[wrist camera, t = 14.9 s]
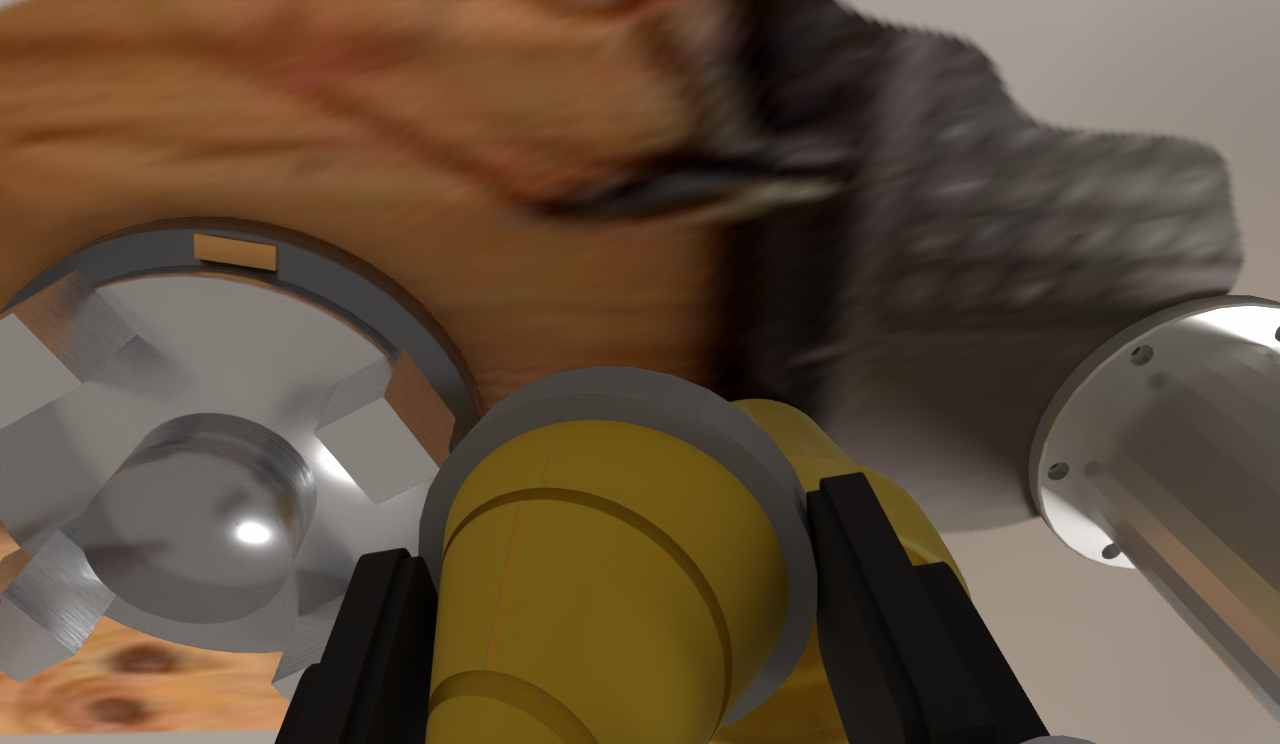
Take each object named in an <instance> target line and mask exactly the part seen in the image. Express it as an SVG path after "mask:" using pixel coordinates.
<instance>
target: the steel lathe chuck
mask: <svg viewBox="0 0 1280 744" xmlns="http://www.w3.org/2000/svg"><path fill="white" fill-rule="evenodd" d="M454 422H455V417H454V416H453V414H452V413H451V411H450V410H449V409H448V407H447V406H446V405H445V403H444V402H443V401H442V399H441V398H440V397H439V395H438V394H437V393H436V391H435V390H434V389H433V387H432V386H431V385H430V383H429V382H428V381H427V379H426V378H425V377H424V375H423V374H422V373H421V371H420V370H419V368H418V367H417V366H416V364H415V363H414V362H413V360H412V359H411V358H410V356H409V355H408V354H407V352H406V351H405V350H404V348H401V349H399V350H398V349H397V348H396V347H395V346H393V345H392V344H391V343H390V342H389V341H388V340H387V339H386V338H385V337H384V336H383V335H382V334H380V333H379V332H378V331H377V330H375V329H374V328H373V327H371V326H370V325H369V324H367V323H366V322H364V321H363V320H362V319H360V318H359V317H358V316H356V315H355V314H353V313H352V312H350V311H348V310H346V309H345V308H343V307H341V306H339V305H338V304H336V303H334V302H332V301H331V300H329V299H327V298H325V297H323V296H321V295H318V294H316V293H314V292H312V291H309V290H307V289H305V288H302V287H300V286H298V285H295V284H293V283H289V282H286V281H283V280H280V279H276V278H273V277H270V276H267V275H263V274H259V273H254V272H249V271H243V270H238V269H233V268H226V267H213V266H200V265H186V266H163V267H156V268H150V269H144V270H138V271H133V272H128V273H125V274H122V275H119V276H115V277H112V278H109V279H106V280H103V281H100V282H98V283H96V284H94V285H91V284H90V283H89V282H88V281H87V280H86V279H85V278H84V277H83V276H82V274H81V273H80V272H79V271H78V270H75V271H74V272H72V273H70V274H69V275H67V276H65V277H63V278H62V279H60V280H58V281H57V282H55V283H53V284H51V285H50V286H48V287H46V288H45V289H43V290H41V291H39V292H38V293H36V294H34V295H33V296H31V297H29V298H27V299H26V300H24V301H22V302H21V303H19V304H17V305H15V306H14V307H12V308H10V309H9V310H7V311H5V312H3V313H2V314H0V520H1V521H2V523H3V524H4V526H5V527H6V529H7V530H8V532H9V534H10V535H11V537H12V538H13V539H14V541H15V542H16V543H17V544H18V545H19V547H20V548H21V549H19V550H17V551H15V552H13V553H11V554H9V555H7V556H6V557H4V558H3V559H2V560H1V561H0V669H1V670H2V671H3V672H5V673H6V674H7V675H9V676H10V677H11V678H13V679H14V680H15V681H16V682H18V683H19V682H21V681H23V680H25V679H27V678H29V677H31V676H33V675H35V674H37V673H39V672H41V671H43V670H45V669H47V668H49V667H51V666H53V665H55V664H57V663H60V662H62V661H64V660H66V659H68V658H70V657H72V656H74V655H76V653H77V652H78V650H79V649H80V647H81V646H82V644H83V643H84V642H85V640H86V639H87V637H88V636H89V634H90V633H91V631H92V630H93V628H94V627H95V625H96V624H97V623H98V621H99V620H100V618H101V617H102V615H105V616H107V617H109V618H111V619H113V620H115V621H117V622H119V623H121V624H123V625H125V626H128V627H130V628H133V629H135V630H138V631H140V632H143V633H146V634H148V635H151V636H154V637H157V638H161V639H164V640H167V641H171V642H174V643H178V644H182V645H187V646H192V647H197V648H202V649H207V650H216V651H225V652H234V653H270V652H284V653H283V655H282V658H281V660H280V663H279V665H278V668H277V670H276V673H275V675H274V678H273V680H272V683H271V685H272V686H274V687H275V688H276V689H277V690H278V691H279V692H280V693H281V694H282V695H283V696H284V697H285V698H287V699H288V700H289V701H290V702H291V700H292V698H293V695H294V693H295V690H296V687H297V685H298V682H299V680H300V678H301V676H302V674H303V673H304V671H305V669H306V668H308V667H309V666H310V665H311V664H315V663H320V660H321V658H322V655H323V652H324V650H325V647H326V644H327V642H328V639H329V636H330V634H331V631H332V628H333V626H334V623H335V620H336V618H337V615H338V612H339V610H340V607H341V604H342V602H343V599H344V596H345V594H346V591H347V588H348V586H349V583H350V580H351V578H352V575H353V572H354V570H355V567H356V564H357V562H358V560H359V558H360V556H362V555H363V554H367V553H373V552H379V551H385V550H391V549H397V548H406V549H407V550H408V551H409V552H410V555H411V557H416V556H418V545H419V523H420V518H421V514H422V511H423V507H424V503H425V500H426V496H427V493H428V489H429V487H430V486H431V484H432V482H433V480H434V479H435V477H436V475H437V473H438V471H439V470H440V468H441V466H442V464H443V462H444V461H445V459H446V458H447V457H448V456H449V455H450V454H451V453H452V451H453V450H454V447H453V443H452V439H451V435H452V431H453V427H454Z"/></svg>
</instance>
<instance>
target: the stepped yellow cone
mask: <svg viewBox="0 0 1280 744" xmlns="http://www.w3.org/2000/svg"><path fill="white" fill-rule="evenodd" d="M418 556H422V557H423V558H424V560H425V562H426V564H427V567H428V570H429V572H430V575H431V578H432V581H433V584H434V586H435V589H436V592H437V595H438V598H439V599H438V610H437V620H436V631H435V642H434V653H433V664H432V675H431V686H430V697H429V708H428V714H429V718H428V722H427V729H426V740H425V744H708V743H709V742H710V740H711V739H712V737H713V736H714V735H715V733H716V732H717V730H718V729H719V728H721V727H723V726H725V725H727V724H730V723H732V722H734V721H736V720H739V719H741V718H743V717H744V716H745V715H747V714H748V713H750V712H751V711H752V710H754V709H755V708H757V707H758V706H759V705H761V704H762V703H764V702H765V701H766V700H768V699H769V698H770V697H771V696H772V695H773V694H774V693H775V692H776V691H777V689H778V688H779V687H780V686H781V685H782V684H783V683H784V682H785V681H786V679H787V678H788V677H789V676H790V675H791V674H792V672H793V671H794V669H795V667H796V665H797V663H798V661H799V660H800V658H801V656H802V654H803V652H804V650H805V649H806V647H807V645H808V642H809V638H810V635H811V631H812V627H813V623H814V620H815V616H816V612H817V578H818V574H817V562H816V556H815V550H814V545H813V539H812V533H811V528H810V522H809V518H808V514H807V503H806V494H805V491H804V489H803V487H802V485H801V482H800V480H799V478H798V476H797V474H796V471H795V469H794V467H793V466H792V465H791V463H790V462H789V461H788V459H787V458H786V457H785V455H784V454H783V452H782V451H781V450H780V448H779V447H778V446H777V444H776V443H775V441H774V440H773V439H772V437H771V436H769V435H768V434H767V433H766V432H765V431H764V430H763V429H762V428H761V427H760V426H759V425H758V424H757V423H755V422H754V421H753V420H752V419H751V418H750V417H749V416H748V415H747V414H746V413H745V412H744V411H742V410H741V409H739V408H738V407H736V406H734V405H733V404H731V403H730V402H728V401H726V400H725V399H723V398H722V397H720V396H718V395H717V394H715V393H714V392H712V391H710V390H709V389H707V388H704V387H702V386H699V385H697V384H694V383H691V382H689V381H686V380H684V379H681V378H679V377H676V376H674V375H671V374H667V373H662V372H657V371H652V370H647V369H642V368H637V367H631V366H590V367H585V368H579V369H574V370H568V371H563V372H558V373H554V374H551V375H549V376H546V377H544V378H542V379H539V380H537V381H534V382H532V383H529V384H527V385H524V386H522V387H520V388H519V389H518V390H516V391H515V392H513V393H512V394H510V395H509V396H507V397H506V398H504V399H503V400H502V401H500V402H499V403H497V404H496V405H494V406H493V407H492V408H491V409H490V410H489V412H488V413H487V414H486V415H485V416H484V417H483V418H482V419H481V420H480V421H479V422H478V424H477V425H476V426H475V427H474V428H473V429H472V430H471V431H470V432H469V433H468V435H467V436H466V437H465V438H464V439H463V440H462V441H461V442H460V444H459V445H458V446H457V447H456V448H455V449H454V450H453V451H452V453H451V454H450V455H449V456H448V457H447V458H446V459H445V461H444V462H443V464H442V466H441V468H440V470H439V471H438V473H437V475H436V477H435V479H434V480H433V482H432V484H431V486H430V487H429V489H428V493H427V496H426V500H425V503H424V507H423V511H422V514H421V518H420V523H419V545H418Z"/></svg>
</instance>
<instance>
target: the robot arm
mask: <svg viewBox="0 0 1280 744" xmlns="http://www.w3.org/2000/svg"><path fill="white" fill-rule="evenodd" d="M1028 473H1029V485H1030V492H1031V495H1032V498H1033V501H1034V503H1035V506H1036V509H1037V511H1038V513H1039V514H1040V516H1041V517H1042V518H1043V520H1044V521H1045V523H1046V524H1047V526H1048V527H1049V528H1050V529H1051V531H1052V532H1053V533H1054V534H1056V536H1057V537H1058V538H1059V539H1060V540H1061V541H1062V542H1063V544H1064V545H1065V546H1067V547H1068V548H1070V549H1071V550H1073V551H1075V552H1076V553H1078V554H1079V555H1081V556H1082V557H1084V558H1086V559H1089V560H1092V561H1094V562H1097V563H1100V564H1103V565H1108V566H1114V567H1121V568H1128V569H1135V568H1136V569H1137V570H1138V571H1139V572H1140V573H1141V574H1142V575H1143V576H1144V577H1145V578H1146V580H1147V581H1148V582H1149V583H1150V584H1151V585H1152V586H1153V587H1154V588H1155V589H1156V591H1157V592H1158V593H1159V594H1160V595H1161V596H1162V597H1163V598H1164V599H1165V601H1166V602H1167V603H1169V605H1170V606H1171V607H1172V608H1173V609H1174V610H1175V612H1176V613H1177V614H1178V615H1179V616H1180V617H1181V618H1182V619H1183V620H1184V621H1185V623H1186V624H1187V625H1188V626H1189V627H1190V628H1191V629H1192V630H1193V631H1194V633H1195V634H1196V635H1197V636H1198V637H1199V638H1200V639H1201V640H1202V641H1203V643H1204V644H1205V645H1206V646H1207V647H1208V648H1209V649H1210V650H1211V651H1212V652H1213V654H1214V655H1215V656H1216V657H1217V658H1218V659H1219V660H1220V661H1221V662H1222V663H1223V665H1224V666H1225V667H1226V668H1227V669H1228V670H1229V671H1230V672H1231V673H1232V675H1233V676H1234V677H1235V678H1236V679H1237V680H1238V681H1239V682H1240V683H1241V685H1242V686H1243V687H1244V688H1245V689H1246V690H1247V691H1248V692H1249V693H1250V694H1251V696H1252V697H1253V698H1254V699H1255V700H1256V701H1257V702H1258V703H1259V704H1260V705H1261V707H1262V708H1263V709H1264V710H1265V711H1266V712H1267V713H1268V714H1269V715H1270V716H1271V718H1272V719H1273V720H1274V721H1275V722H1276V723H1277V724H1278V725H1279V727H1280V303H1279V302H1277V301H1273V300H1268V299H1264V298H1260V297H1255V296H1250V295H1221V296H1215V297H1209V298H1203V299H1197V300H1191V301H1187V302H1184V303H1181V304H1178V305H1175V306H1172V307H1169V308H1167V309H1164V310H1161V311H1158V312H1156V313H1154V314H1152V315H1150V316H1148V317H1146V318H1144V319H1142V320H1140V321H1138V322H1136V323H1134V324H1132V325H1130V326H1128V327H1127V328H1125V329H1124V330H1122V331H1121V332H1119V333H1118V334H1116V335H1115V336H1114V337H1112V338H1111V339H1109V340H1108V341H1106V342H1105V343H1104V344H1102V345H1101V346H1099V347H1098V348H1097V349H1096V350H1095V351H1094V352H1093V353H1092V354H1091V355H1090V356H1088V357H1087V358H1086V359H1085V360H1084V361H1083V362H1082V363H1081V364H1080V365H1079V366H1078V367H1077V368H1076V369H1075V370H1074V371H1073V372H1072V373H1071V375H1070V376H1069V377H1068V378H1067V380H1066V381H1065V382H1064V383H1063V385H1062V386H1061V387H1060V388H1059V389H1058V391H1057V392H1056V393H1055V395H1054V397H1053V398H1052V400H1051V402H1050V404H1049V405H1048V407H1047V409H1046V411H1045V412H1044V414H1043V416H1042V417H1041V419H1040V422H1039V425H1038V428H1037V431H1036V433H1035V436H1034V439H1033V442H1032V445H1031V452H1030V459H1029V466H1028ZM806 503H807V514H808V518H809V522H810V528H811V533H812V539H813V545H814V550H815V556H816V562H817V574H818V578H817V612H816V622H817V634H818V643H819V649H820V654H821V658H822V662H823V666H824V669H825V672H826V675H827V678H828V681H829V684H830V687H831V690H832V693H833V696H834V700H835V703H836V706H837V709H838V712H839V715H840V718H841V721H842V724H843V727H844V730H845V733H846V736H847V739H848V742H849V744H1096V743H1093V742H1091V741H1088V740H1083V739H1078V738H1073V737H1068V736H1050V734H1049V733H1048V731H1047V729H1046V727H1045V726H1044V724H1043V723H1042V721H1041V719H1040V717H1039V715H1038V714H1037V712H1036V710H1035V709H1034V707H1033V705H1032V703H1031V702H1030V700H1029V698H1028V697H1027V695H1026V693H1025V692H1024V690H1023V689H1022V686H1021V685H1020V683H1019V681H1018V680H1017V678H1016V676H1015V675H1014V673H1013V671H1012V670H1011V668H1010V666H1009V664H1008V663H1007V661H1006V659H1005V658H1004V656H1003V654H1002V652H1001V651H1000V649H999V647H998V646H997V644H996V642H995V641H994V639H993V637H992V635H991V634H990V632H989V630H988V629H987V627H986V625H985V624H984V622H983V620H982V618H981V617H980V615H979V613H978V612H977V610H976V608H975V607H974V605H973V603H972V601H971V600H970V598H969V596H968V595H967V593H966V591H965V589H964V588H963V586H962V584H961V583H960V581H959V579H958V578H957V576H956V574H955V573H954V571H953V570H952V568H951V567H950V566H949V565H948V564H947V563H945V562H944V561H942V562H936V563H930V564H923V565H917V566H913V565H912V563H911V561H910V559H909V557H908V555H907V553H906V552H905V550H904V548H903V546H902V544H901V542H900V540H899V538H898V536H897V534H896V533H895V531H894V529H893V527H892V525H891V523H890V521H889V519H888V517H887V515H886V514H885V512H884V510H883V508H882V506H881V504H880V502H879V500H878V498H877V496H876V495H875V493H874V491H873V489H872V487H871V485H870V483H869V481H868V479H867V477H866V476H865V474H864V473H863V472H856V473H850V474H844V475H838V476H832V477H826V478H821V479H820V483H819V490H815V491H809V492H807V493H806ZM438 599H439V598H438V595H437V592H436V589H435V586H434V584H433V581H432V578H431V575H430V572H429V570H428V567H427V564H426V562H425V560H424V558H423V557H422V556H416V557H411V555H410V552H409V551H408V550H407V549H406V548H397V549H391V550H385V551H379V552H373V553H367V554H363V555H362V556H360V558H359V560H358V562H357V564H356V567H355V570H354V572H353V575H352V578H351V580H350V583H349V586H348V588H347V591H346V594H345V596H344V599H343V602H342V604H341V607H340V610H339V612H338V615H337V618H336V620H335V623H334V626H333V628H332V631H331V634H330V636H329V639H328V642H327V644H326V647H325V650H324V652H323V655H322V658H321V660H320V663H315V664H311V665H310V666H309V667H308V668H306V669H305V671H304V673H303V674H302V676H301V678H300V680H299V682H298V685H297V687H296V690H295V693H294V695H293V698H292V700H291V703H290V705H289V708H288V710H287V713H286V715H285V718H284V721H283V723H282V726H281V728H280V731H279V733H278V736H277V738H276V741H275V744H425V740H426V729H427V722H428V718H429V714H428V708H429V697H430V686H431V675H432V664H433V653H434V642H435V631H436V620H437V610H438Z"/></svg>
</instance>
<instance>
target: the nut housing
mask: <svg viewBox="0 0 1280 744" xmlns="http://www.w3.org/2000/svg"><path fill="white" fill-rule="evenodd" d="M186 265H200V266H213V267H226V268H233V269H238V270H243V271H249V272H254V273H259V274H263V275H267V276H270V277H273V278H276V279H280V280H283V281H286V282H289V283H293V284H295V285H298V286H300V287H302V288H305V289H307V290H309V291H312V292H314V293H316V294H318V295H321V296H323V297H325V298H327V299H329V300H331V301H332V302H334V303H336V304H338V305H339V306H341V307H343V308H345V309H346V310H348V311H350V312H352V313H353V314H355V315H356V316H358V317H359V318H360V319H362V320H363V321H364V322H366V323H367V324H369V325H370V326H371V327H373V328H374V329H375V330H377V331H378V332H379V333H380V334H382V335H383V336H384V337H385V338H386V339H387V340H388V341H389V342H390V343H391V344H392V345H393V346H395V347H396V348H397V349H398V350H399V349H401V348H404V350H405V351H406V352H407V354H408V355H409V356H410V358H411V359H412V360H413V362H414V363H415V364H416V366H417V367H418V368H419V370H420V371H421V373H422V374H423V375H424V377H425V378H426V379H427V381H428V382H429V383H430V385H431V386H432V387H433V389H434V390H435V391H436V393H437V394H438V395H439V397H440V398H441V399H442V401H443V402H444V403H445V405H446V406H447V407H448V409H449V410H450V411H451V413H452V414H453V416H454V417H455V422H454V427H453V431H452V435H451V439H452V443H453V447H454V449H455V448H456V447H457V446H458V445H459V444H460V442H461V441H462V440H463V439H464V438H465V437H466V436H467V435H468V433H469V432H470V431H471V430H472V429H473V428H474V427H475V426H476V425H477V424H478V422H479V421H480V420H481V419H482V418H483V417H484V416H485V412H484V407H483V403H482V400H481V397H480V394H479V392H478V389H477V386H476V383H475V380H474V378H473V376H472V374H471V372H470V370H469V368H468V366H467V364H466V362H465V360H464V358H463V356H462V355H461V353H460V351H459V350H458V348H457V347H456V345H455V344H454V342H453V341H452V340H451V338H450V337H449V335H448V334H447V333H446V331H445V330H444V328H443V327H442V326H441V325H440V324H439V322H438V321H437V320H436V319H435V318H434V317H433V316H432V315H431V314H430V313H429V312H428V310H427V309H426V308H425V307H424V306H423V305H422V304H421V303H420V302H419V301H418V300H417V299H415V298H414V297H413V296H412V295H411V294H410V293H408V292H407V291H406V290H405V289H404V288H403V287H401V286H400V285H399V284H398V283H397V282H396V281H394V280H393V279H391V278H390V277H388V276H387V275H385V274H384V273H382V272H381V271H379V270H378V269H376V268H375V267H374V266H372V265H371V264H369V263H368V262H366V261H364V260H362V259H360V258H358V257H356V256H354V255H353V254H351V253H349V252H347V251H345V250H343V249H341V248H339V247H337V246H335V245H333V244H330V243H328V242H325V241H323V240H320V239H317V238H315V237H312V236H310V235H307V234H304V233H302V232H298V231H295V230H291V229H287V228H283V227H279V226H276V225H272V224H268V223H263V222H256V221H249V220H242V219H235V218H223V217H186V218H176V219H166V220H157V221H153V222H149V223H145V224H141V225H136V226H132V227H128V228H124V229H122V230H119V231H116V232H114V233H111V234H109V235H106V236H104V237H101V238H99V239H96V240H94V241H92V242H90V243H89V244H87V245H85V246H84V247H82V248H80V249H78V250H77V251H75V252H73V253H72V254H70V255H68V256H66V257H65V258H63V259H62V260H60V261H59V262H57V263H55V264H54V265H52V266H51V267H49V268H48V269H46V270H44V271H43V272H41V273H40V274H39V275H38V276H36V277H35V278H34V279H33V280H32V281H30V282H29V283H28V284H27V285H26V286H24V287H23V288H22V289H21V290H20V291H18V292H17V293H16V295H15V296H14V297H13V298H12V299H11V300H10V302H9V303H8V304H7V305H6V306H5V308H4V309H3V310H2V311H1V312H0V314H2V313H3V312H5V311H7V310H9V309H10V308H12V307H14V306H15V305H17V304H19V303H21V302H22V301H24V300H26V299H27V298H29V297H31V296H33V295H34V294H36V293H38V292H39V291H41V290H43V289H45V288H46V287H48V286H50V285H51V284H53V283H55V282H57V281H58V280H60V279H62V278H63V277H65V276H67V275H69V274H70V273H72V272H74V271H75V270H78V271H79V272H80V273H81V274H82V276H83V277H84V278H85V279H86V280H87V281H88V282H89V283H90V284H91V285H94V284H96V283H98V282H100V281H103V280H106V279H109V278H112V277H115V276H119V275H122V274H125V273H128V272H133V271H138V270H144V269H150V268H156V267H163V266H186Z"/></svg>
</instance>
